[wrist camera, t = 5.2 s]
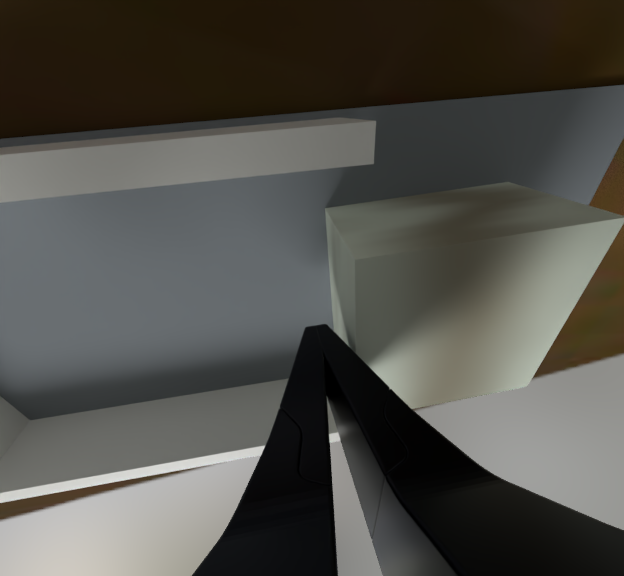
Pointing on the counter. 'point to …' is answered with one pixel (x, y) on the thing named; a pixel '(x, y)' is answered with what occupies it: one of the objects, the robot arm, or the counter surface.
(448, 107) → the mat
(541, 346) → the sage block
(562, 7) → the counter surface
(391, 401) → the robot arm
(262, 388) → the cubby
